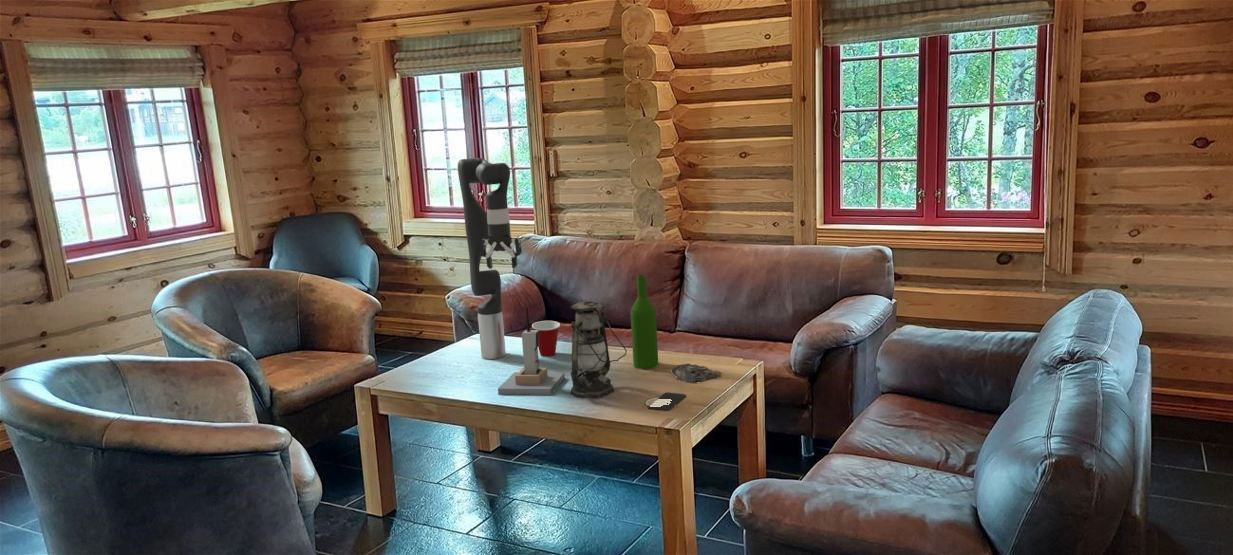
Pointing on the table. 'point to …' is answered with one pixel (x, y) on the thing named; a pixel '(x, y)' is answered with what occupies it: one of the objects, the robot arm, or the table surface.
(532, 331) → the vintage mobile phone
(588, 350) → the lantern
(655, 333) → the wine bottle
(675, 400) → the phone
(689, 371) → the geode
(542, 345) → the plastic cup
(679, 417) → the table surface
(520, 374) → the square socket base
